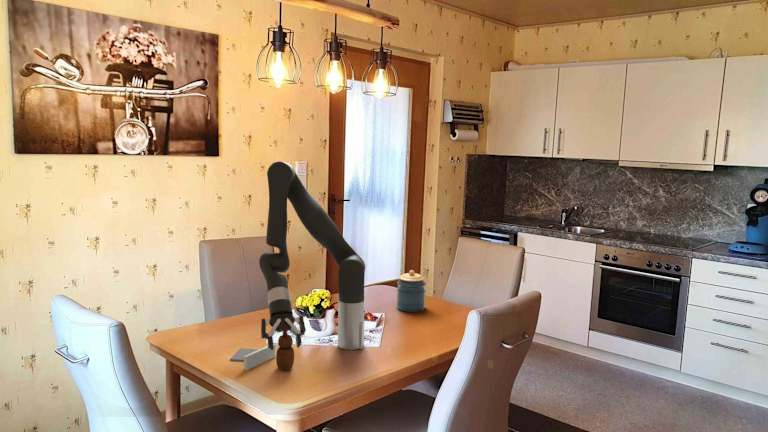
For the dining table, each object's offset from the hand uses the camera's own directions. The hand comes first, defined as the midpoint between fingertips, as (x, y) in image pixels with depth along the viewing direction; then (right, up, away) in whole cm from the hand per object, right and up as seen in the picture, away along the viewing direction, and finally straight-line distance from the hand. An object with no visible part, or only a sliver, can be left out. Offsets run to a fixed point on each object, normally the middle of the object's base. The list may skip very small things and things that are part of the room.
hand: (285, 347), depth 182 cm
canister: (+44, +1, +73) cm, 85 cm away
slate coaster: (-15, -6, +12) cm, 20 cm away
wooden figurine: (0, -8, +2) cm, 8 cm away
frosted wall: (-10, -6, +6) cm, 13 cm away
